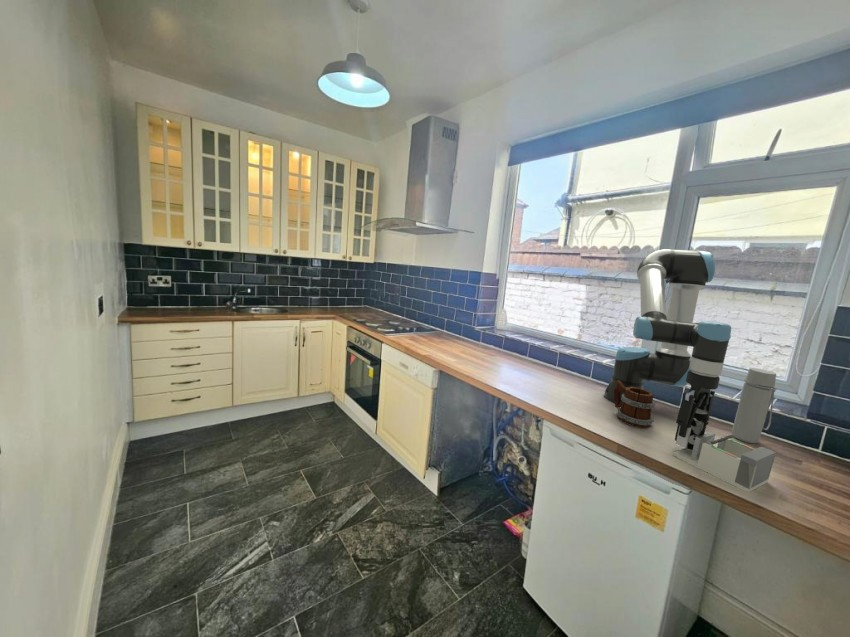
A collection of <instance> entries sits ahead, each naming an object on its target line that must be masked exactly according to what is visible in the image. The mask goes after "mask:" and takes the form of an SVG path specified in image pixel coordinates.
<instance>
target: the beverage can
mask: <svg viewBox="0 0 850 637" xmlns="http://www.w3.org/2000/svg"><path fill="white" fill-rule="evenodd" d="M708 421H709V420H708V416H707V411H706V410H701V409H698V408H697V410H696V413H695V415H694V418H693V420H692V423H691V425H690V428H691V432H690V436H689V440H688V445H687V449H690V450H693V447H694V443H695V438H696V437H697V436H700V435H703V434H706V433H705V432H706V429H707V426H708V425H707V422H708ZM679 427H680V425H679V424H677V427H676V432H675V437H674V441H675V442H676V440H677V435H678V431H679Z"/></svg>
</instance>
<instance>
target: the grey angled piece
mask: <svg viewBox="0 0 850 637" xmlns="http://www.w3.org/2000/svg"><path fill="white" fill-rule="evenodd" d="M716 436H717V435H716V433H715V432H712V431H710V432H706V433H704V434H703V435H700V436H697V437H696V438H695V443H694V447H693V451H692V455H691V458H692V459H694V460H697V459H699V457H700V453H701V448H702V444H703V443H706V444H708V445H711V446H714V445H716V444H717V445H716V447H717V448H719V449H722V450H724V447H725V443H726V441H725V440H727V439H730V440H731V439H733V438H735V437H734V436H733V435H732V434H730V435H729V434H728V435H727V436H722V437H723V438H721V437H720V438H718V439H716Z"/></svg>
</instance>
